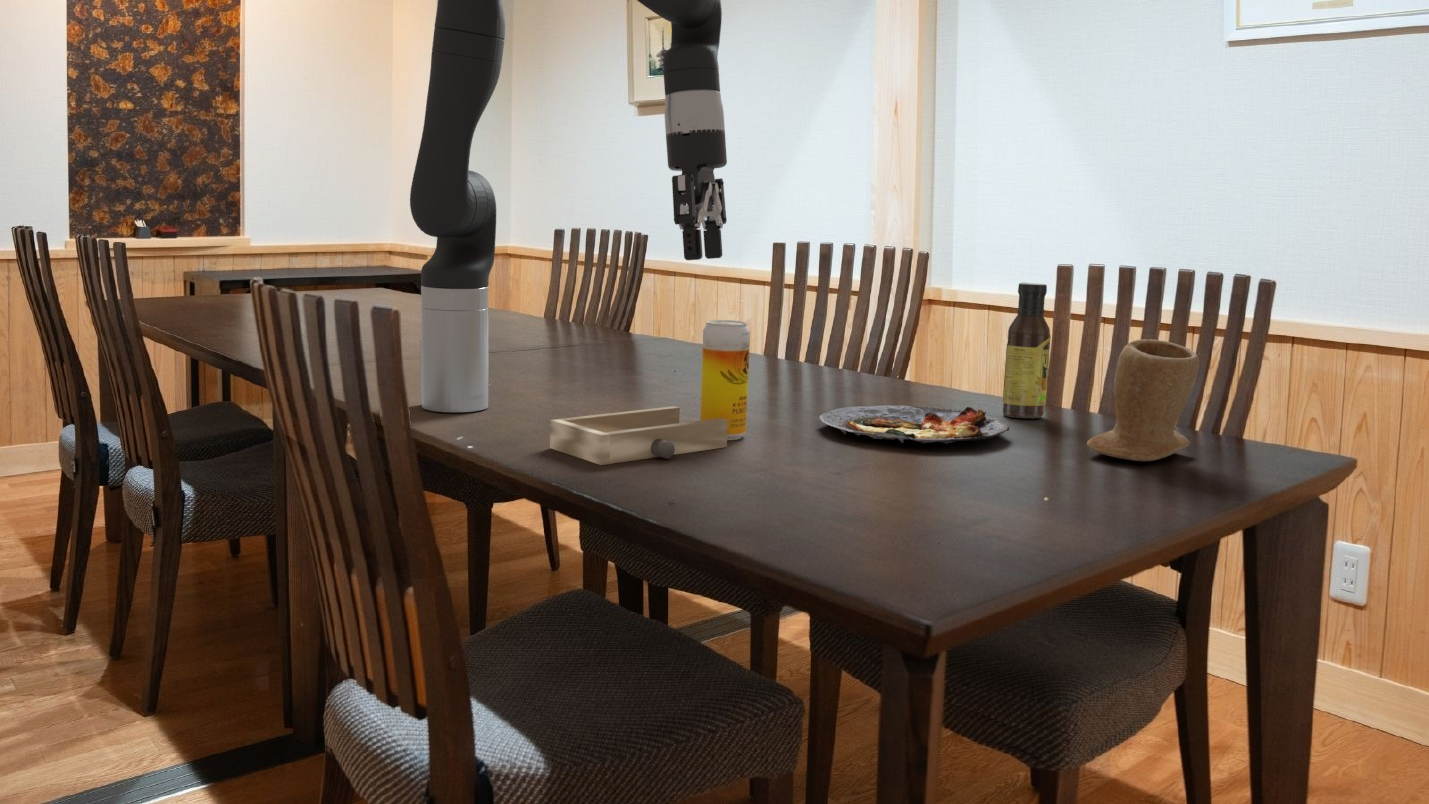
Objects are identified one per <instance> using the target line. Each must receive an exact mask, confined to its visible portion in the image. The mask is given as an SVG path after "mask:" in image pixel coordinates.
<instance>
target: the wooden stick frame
mask: <svg viewBox="0 0 1429 804" xmlns="http://www.w3.org/2000/svg"><path fill="white" fill-rule="evenodd" d="M680 414H681V413H680V407H679V406H673V405H672V406H663V407H654V408H648V409H639V410H636V409H635V410H628V411H621V412H620V411H619V412H610V413H601V414H592V415H583V416H574V417H565V418H557V419H550V421H549V422H550V423H549V424H550V425H549V449H552V450H554V451H557V452H560V453H564V454H566V455H570V456H573V457H575V458H578V459H582V460H585V461H588V462H590V463H594V464H596V465H600V466H605V465H612V464H616V463H617V464H619V463H625V462H626V463H627V462H633V461H639V460H647V459H653V458H662V459H670V458H672V457H673V456H674V455H682V454H687V453H689V454H690V453H694V452H695V453H696V452H700V451H707V450H708V451H709V450H715V449H721V448H727V447H728V440H727V426H728V420H727V419H723V418H718V419H710V420H702V421H700V420H696V421H687V422H680Z"/></svg>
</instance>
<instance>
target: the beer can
mask: <svg viewBox="0 0 1429 804" xmlns="http://www.w3.org/2000/svg"><path fill="white" fill-rule="evenodd" d="M750 344H751V331H750V328H749V326H748V323H747V322H746V321H741V320H731V319H728V320H727V319H725V320H724V319H717V320H715V319H713V320H707V321H706V324H705V326H704V328H703V329H702V347H701V349H702V353H701V354H702V355H701V356H702V357H701V381H700V383H701V384H700V410H699V416H700V417H699V421H702V420H710V419H718V418H723V419H727V420H728V426H727V441H735V440H740V439H742V437H743V435H745V433H746V432H747V423H748V421H747V419H748V394H749V393H748V391H749V369H750V368H749V367H750Z"/></svg>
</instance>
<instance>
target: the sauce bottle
mask: <svg viewBox="0 0 1429 804" xmlns="http://www.w3.org/2000/svg"><path fill="white" fill-rule="evenodd" d="M1017 288H1018V289H1017V293H1018V295H1019V296H1018V307H1017V310H1016V311H1017V315H1015V316H1016V317H1015V318H1014V319H1013V321H1012V322H1011V323H1010V325H1009V327H1008V330H1007V332H1008V333H1007V343H1006V349H1005V351H1006V352H1005V360H1004V361H1005V362H1004V363H1005V365H1004V377H1003V390H1002V402H1003V403H1002V404H1003V407H1002V415H1003V416H1005V417H1008V418H1014V419H1015V418H1016V419H1039V418H1042V417H1043V416H1044V414H1045V405H1046V404H1047V392H1048V378H1049V368H1050V367H1049V365H1050V349H1051V348H1050V347H1051V338H1052V337H1051V336H1052V335H1051V329H1050V327H1049V324H1048V323H1047V321H1046V319H1045V316H1044V313H1045V299H1046V298H1045V297H1046V295H1047V293H1048V291H1047V290H1048V286H1047V284H1046V283H1045V284H1044V283H1034V282H1024V281H1023V282H1022V281H1021V282H1019V283H1018V287H1017Z"/></svg>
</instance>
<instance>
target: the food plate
mask: <svg viewBox="0 0 1429 804" xmlns="http://www.w3.org/2000/svg"><path fill="white" fill-rule="evenodd" d="M986 414H987V411H983V410H982V409H978V410H976V409H974V408H972V407H970V406H966V407H965V408H964V410H960V409H959V410H957V409H954V410H952V409H951V408H949V409H948V408H947V409H946V408H939V407H928V406H926V407H925V406H913V405H911V406H910V405H904V404H903V405H888V404H887V405H870V406H868V405H866V406H864V405H863V406H860V405H858V406H847V407H840V408H834V409H829V410H828V411H826V412H825V413H822V414H820V415H819V417H818V419H819V420H820V421H821V423H823V424H826V425H827V426H831V427H833V428H836V429H838V430H840V431H841V432H842V434H844V435H847V432H849V433H854V435H856V436H859V437H860V436H867V437H869V438H871V439H876V440H879V441H882V440H886V441H888V440H892V441H895V440H896V439H898V441H900V443H901V444H904V440H905V441H907V440H912V441H915V442H918V444H922V445H923V444H927V443H936V442H938V443H943V444H945V445H947V444H952V443H955V442H969V441H979V440H983V439H986V440H987V439H993V438H996V436H1000V435H1001V434H1004V433H1006V432H1008V431H1009V430H1010V426H1009V425H1008V424H1007V423H1005V422H1003V421H1002V420H1001V419H999V418H996V417H991V416H987V415H986Z"/></svg>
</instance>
